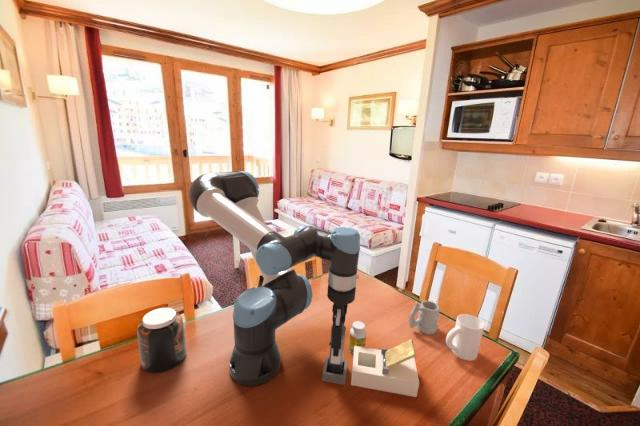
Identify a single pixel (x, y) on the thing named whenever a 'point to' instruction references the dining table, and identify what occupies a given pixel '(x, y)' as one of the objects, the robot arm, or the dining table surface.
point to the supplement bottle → (357, 336)
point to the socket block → (383, 373)
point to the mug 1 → (425, 317)
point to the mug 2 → (466, 337)
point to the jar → (161, 340)
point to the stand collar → (332, 376)
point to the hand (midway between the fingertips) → (336, 356)
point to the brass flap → (399, 354)
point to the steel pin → (338, 367)
